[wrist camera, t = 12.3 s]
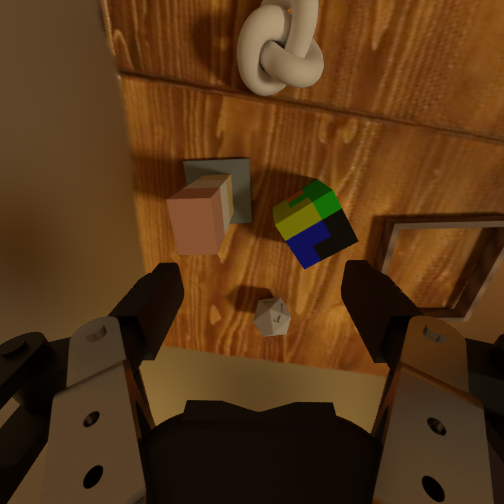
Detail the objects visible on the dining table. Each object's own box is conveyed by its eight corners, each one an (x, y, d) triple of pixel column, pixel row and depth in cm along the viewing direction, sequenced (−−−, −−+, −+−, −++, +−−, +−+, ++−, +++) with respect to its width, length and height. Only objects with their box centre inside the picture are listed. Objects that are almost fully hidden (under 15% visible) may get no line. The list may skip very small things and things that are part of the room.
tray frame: (386, 218, 44) (394, 223, 41) (508, 215, 42) (525, 220, 40) (362, 313, 55) (367, 321, 53) (457, 312, 54) (467, 321, 52)
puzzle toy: (296, 245, 47) (304, 269, 38) (271, 207, 44) (274, 225, 35) (338, 221, 44) (358, 241, 35) (316, 179, 41) (332, 189, 32)
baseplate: (184, 160, 40) (182, 161, 39) (249, 158, 39) (249, 158, 38) (195, 222, 45) (193, 224, 44) (252, 220, 45) (251, 222, 44)
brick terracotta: (183, 188, 29) (166, 199, 24) (219, 187, 29) (210, 198, 24) (191, 236, 32) (178, 254, 27) (224, 235, 32) (217, 254, 27)
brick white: (195, 180, 34) (183, 188, 29) (226, 179, 34) (219, 187, 29) (201, 222, 38) (192, 235, 32) (230, 221, 37) (225, 235, 32)
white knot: (338, 38, 32) (365, 4, 24) (292, 121, 37) (301, 117, 29) (272, -16, 29) (277, -73, 21) (233, 81, 34) (224, 64, 26)
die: (294, 296, 54) (301, 327, 45) (277, 319, 57) (280, 352, 49) (264, 283, 52) (264, 312, 43) (248, 308, 56) (246, 340, 47)
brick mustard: (203, 175, 40) (195, 180, 34) (230, 174, 40) (226, 179, 34) (208, 212, 43) (201, 222, 38) (233, 211, 43) (230, 221, 37)
